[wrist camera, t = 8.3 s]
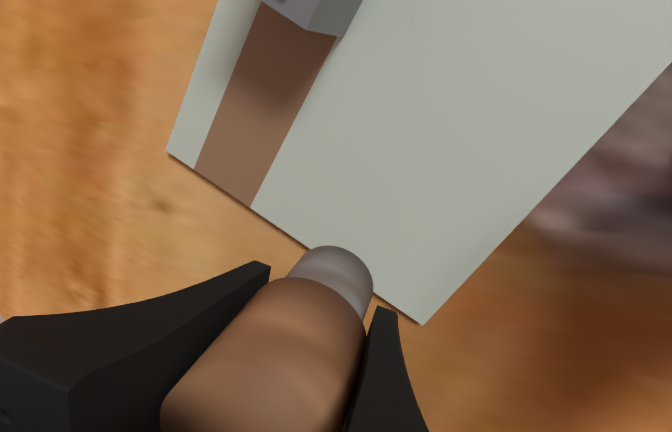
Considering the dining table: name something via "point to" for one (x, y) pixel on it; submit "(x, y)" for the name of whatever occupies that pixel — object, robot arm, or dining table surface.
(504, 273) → the dining table surface
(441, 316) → the dining table surface
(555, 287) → the dining table surface
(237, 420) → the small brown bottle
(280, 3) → the block
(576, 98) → the panel
